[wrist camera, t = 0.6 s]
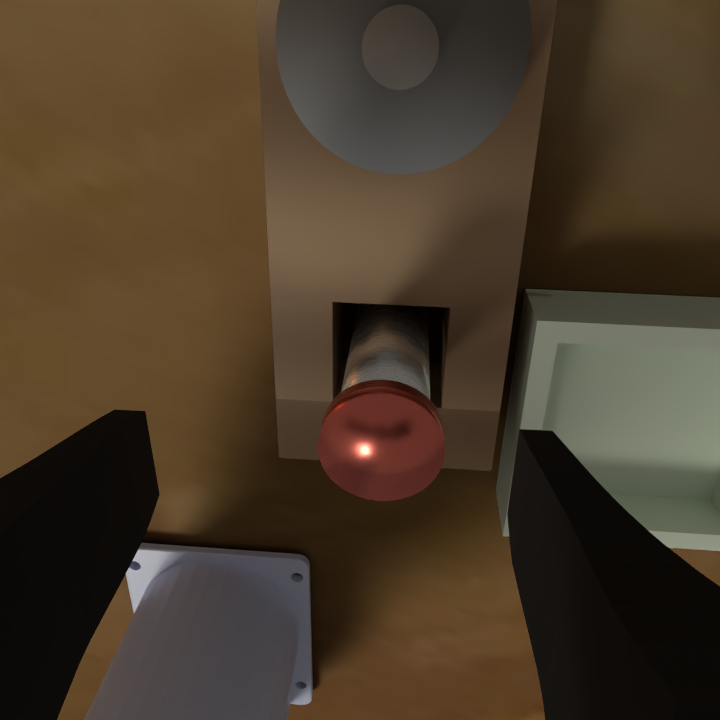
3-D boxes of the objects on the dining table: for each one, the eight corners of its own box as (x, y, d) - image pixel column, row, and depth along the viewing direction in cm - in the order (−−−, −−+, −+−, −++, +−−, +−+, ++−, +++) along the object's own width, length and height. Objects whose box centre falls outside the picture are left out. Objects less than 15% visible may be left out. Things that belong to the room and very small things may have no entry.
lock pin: (433, 356, 23) (439, 504, 16) (348, 352, 23) (318, 497, 16) (440, 276, 22) (450, 401, 15) (348, 271, 22) (316, 393, 15)
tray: (718, 504, 25) (747, 553, 23) (495, 490, 26) (502, 536, 23) (791, 300, 21) (834, 335, 19) (525, 288, 22) (537, 320, 19)
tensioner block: (483, 420, 24) (499, 521, 19) (293, 409, 25) (263, 506, 20) (551, -115, 17) (605, -163, 12) (275, -118, 17) (219, -165, 12)
